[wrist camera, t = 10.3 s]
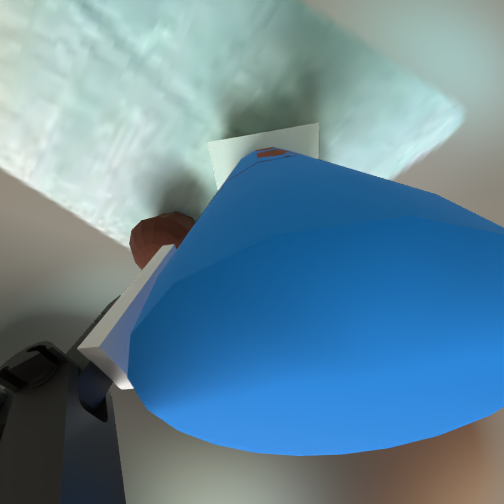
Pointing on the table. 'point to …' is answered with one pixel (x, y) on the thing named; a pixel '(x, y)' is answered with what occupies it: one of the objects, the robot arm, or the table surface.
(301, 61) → the table surface
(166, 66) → the table surface
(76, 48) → the table surface
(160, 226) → the muffin
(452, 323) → the thermos
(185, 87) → the table surface
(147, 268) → the robot arm
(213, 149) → the footstool
